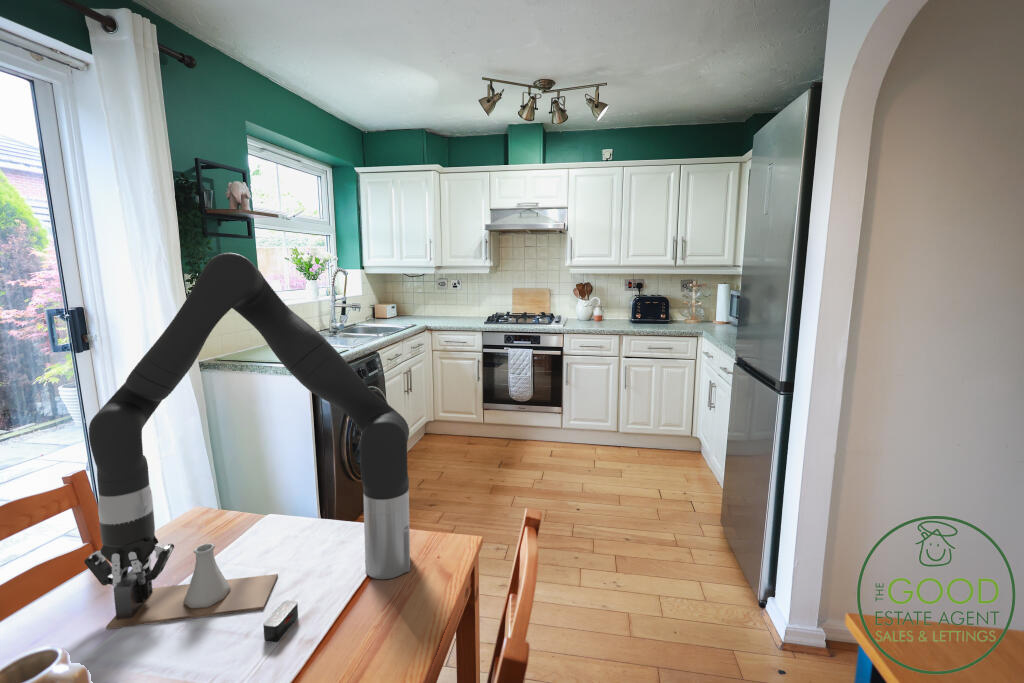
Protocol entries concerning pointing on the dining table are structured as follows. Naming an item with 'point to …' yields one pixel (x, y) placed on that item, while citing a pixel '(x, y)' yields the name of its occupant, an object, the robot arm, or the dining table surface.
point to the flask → (206, 580)
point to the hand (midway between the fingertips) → (134, 600)
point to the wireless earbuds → (280, 621)
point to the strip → (170, 601)
